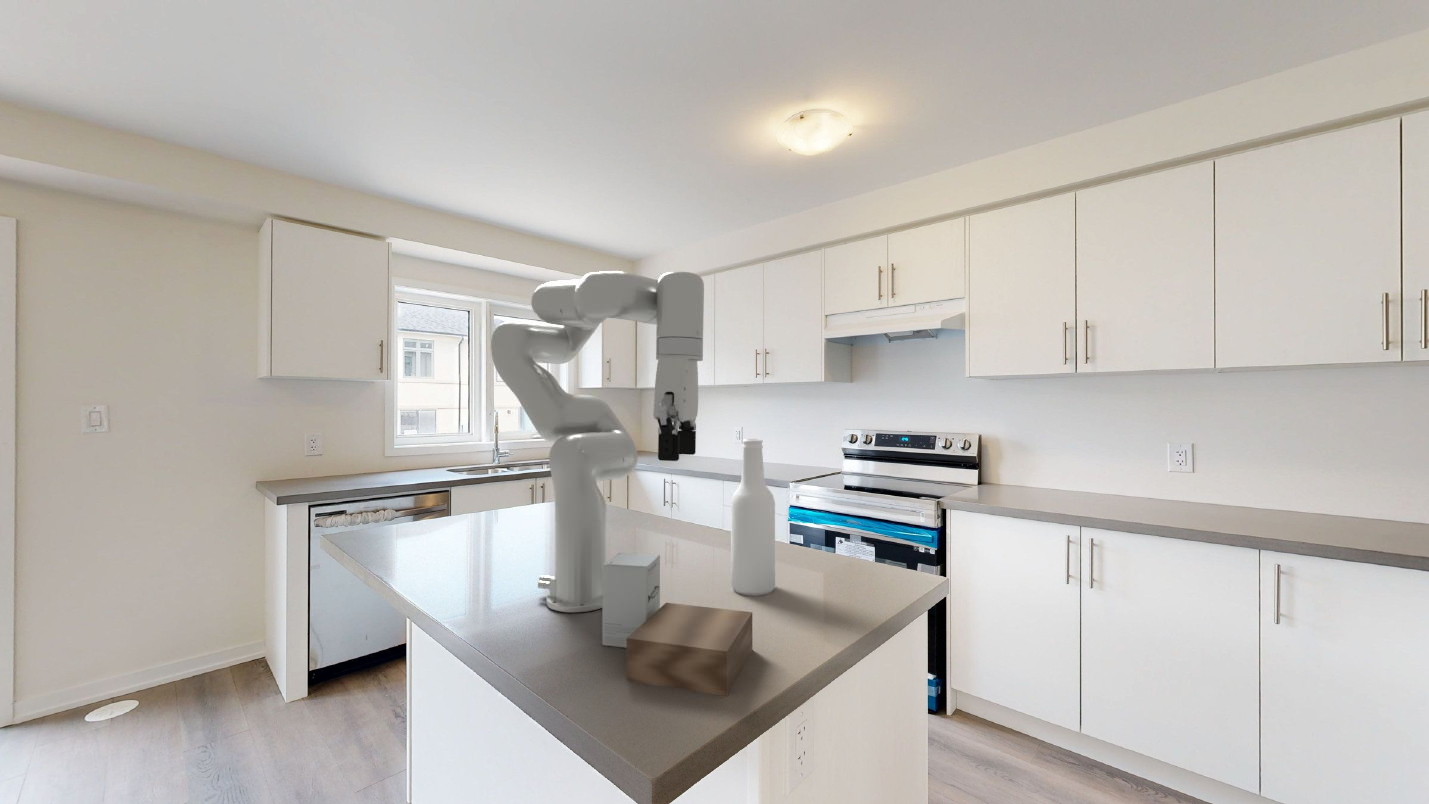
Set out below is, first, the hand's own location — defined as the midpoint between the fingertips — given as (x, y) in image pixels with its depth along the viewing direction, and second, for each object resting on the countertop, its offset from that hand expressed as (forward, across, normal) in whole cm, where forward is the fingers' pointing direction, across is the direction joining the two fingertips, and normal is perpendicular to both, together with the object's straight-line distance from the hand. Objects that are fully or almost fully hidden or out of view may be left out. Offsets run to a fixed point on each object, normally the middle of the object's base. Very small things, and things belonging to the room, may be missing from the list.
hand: (677, 457), depth 90 cm
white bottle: (+29, -24, +9) cm, 39 cm away
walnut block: (+29, +10, +6) cm, 31 cm away
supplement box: (+29, +3, -6) cm, 30 cm away
